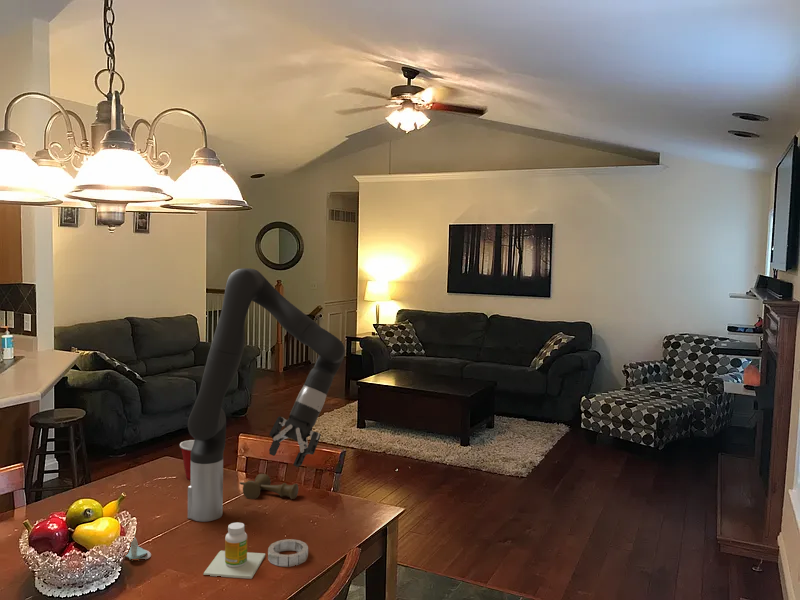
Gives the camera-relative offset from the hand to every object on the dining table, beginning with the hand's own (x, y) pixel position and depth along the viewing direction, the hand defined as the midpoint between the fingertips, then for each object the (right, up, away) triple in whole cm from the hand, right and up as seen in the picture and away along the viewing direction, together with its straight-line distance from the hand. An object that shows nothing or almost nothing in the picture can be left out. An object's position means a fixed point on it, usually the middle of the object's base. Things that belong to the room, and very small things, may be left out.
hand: (283, 460), depth 178 cm
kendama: (-11, -20, +34) cm, 41 cm away
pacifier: (-36, -23, -10) cm, 43 cm away
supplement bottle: (-10, -23, -13) cm, 28 cm away
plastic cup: (-39, -18, +47) cm, 63 cm away
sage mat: (-10, -23, -13) cm, 28 cm away
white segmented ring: (+3, -23, -8) cm, 25 cm away
